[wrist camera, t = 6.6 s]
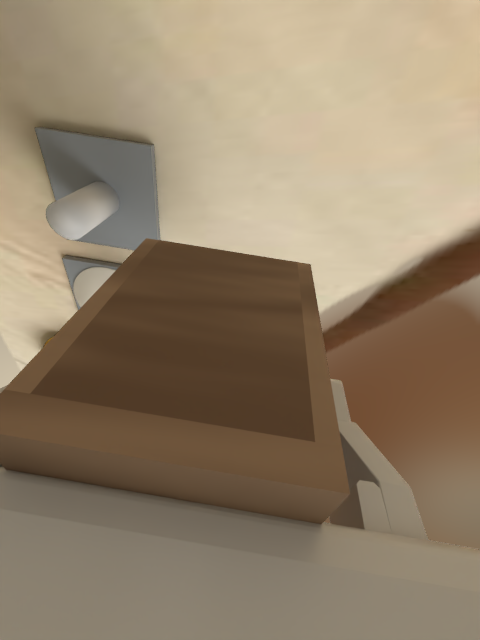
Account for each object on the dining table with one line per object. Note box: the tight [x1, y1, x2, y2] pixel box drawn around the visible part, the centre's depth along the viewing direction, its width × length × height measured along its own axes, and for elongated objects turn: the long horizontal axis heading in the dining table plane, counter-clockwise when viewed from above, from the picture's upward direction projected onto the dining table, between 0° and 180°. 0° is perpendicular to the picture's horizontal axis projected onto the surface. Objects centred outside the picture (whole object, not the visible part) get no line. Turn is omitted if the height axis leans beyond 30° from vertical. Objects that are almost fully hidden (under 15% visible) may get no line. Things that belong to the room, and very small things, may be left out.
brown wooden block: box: [0, 238, 350, 524], centre depth 10 cm, size 6×6×8 cm
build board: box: [62, 256, 121, 310], centre depth 28 cm, size 8×8×1 cm
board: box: [35, 127, 160, 250], centre depth 20 cm, size 8×8×6 cm
